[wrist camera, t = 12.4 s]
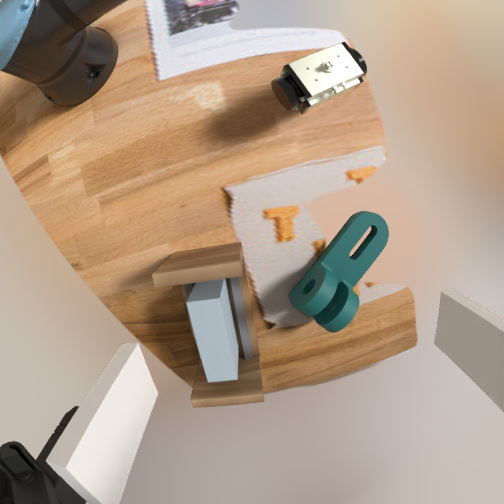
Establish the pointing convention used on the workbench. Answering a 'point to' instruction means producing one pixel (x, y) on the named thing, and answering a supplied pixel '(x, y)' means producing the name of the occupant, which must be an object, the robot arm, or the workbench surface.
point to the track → (249, 366)
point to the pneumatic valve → (319, 77)
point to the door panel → (214, 329)
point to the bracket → (340, 272)
